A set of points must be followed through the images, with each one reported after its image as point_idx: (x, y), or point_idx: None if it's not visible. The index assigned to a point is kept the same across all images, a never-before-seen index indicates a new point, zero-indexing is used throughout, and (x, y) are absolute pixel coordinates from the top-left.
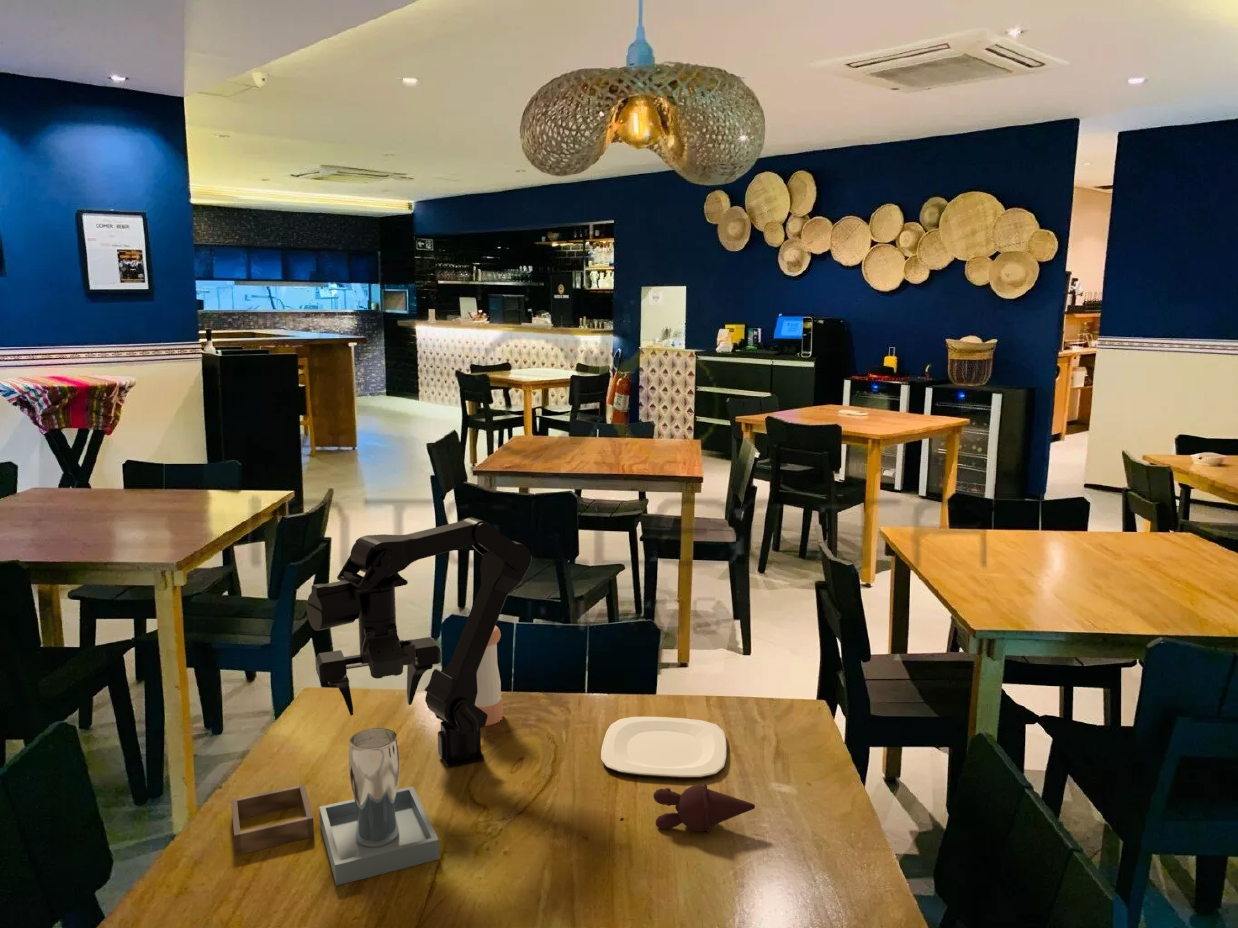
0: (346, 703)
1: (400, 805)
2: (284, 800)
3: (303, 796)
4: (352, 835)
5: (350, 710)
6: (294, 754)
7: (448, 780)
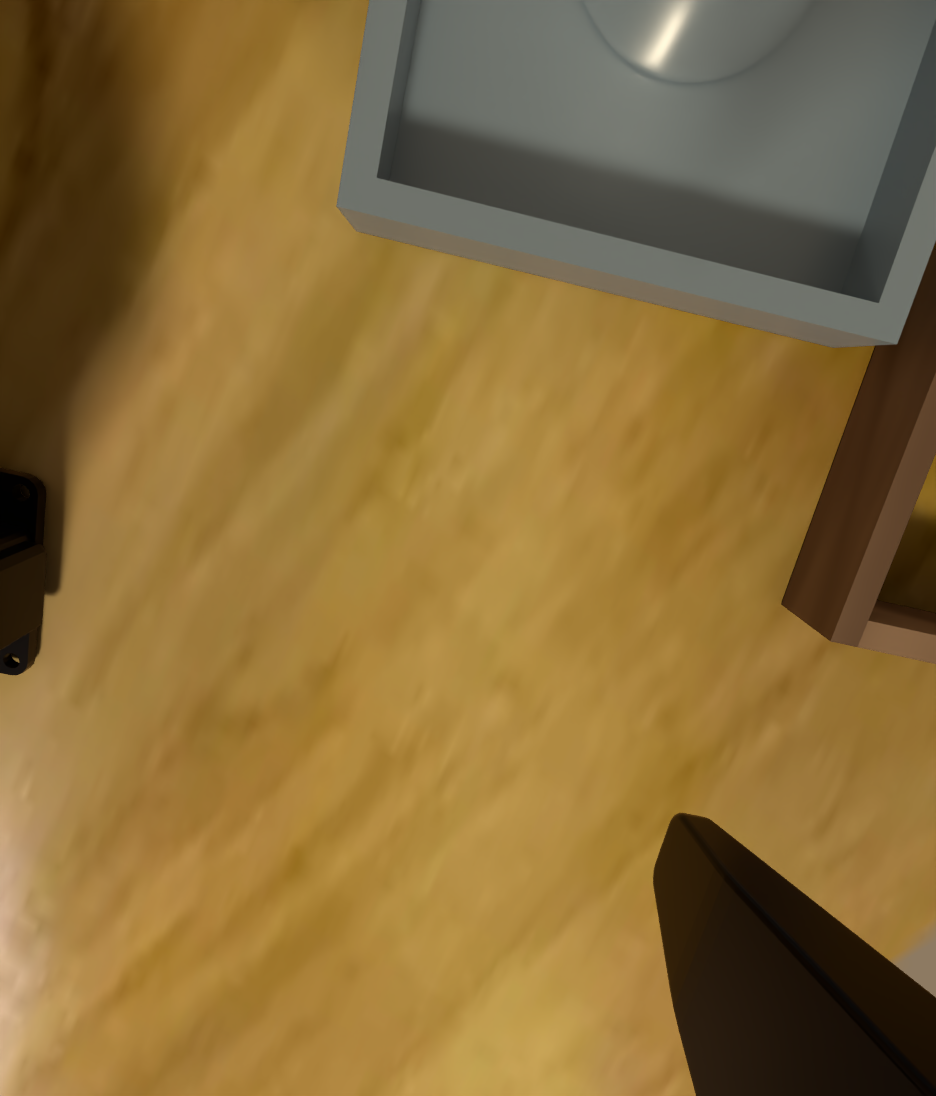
0: (873, 950)
1: (446, 191)
2: (910, 617)
3: (901, 516)
4: (806, 47)
5: (741, 854)
6: (627, 1014)
7: (93, 353)
